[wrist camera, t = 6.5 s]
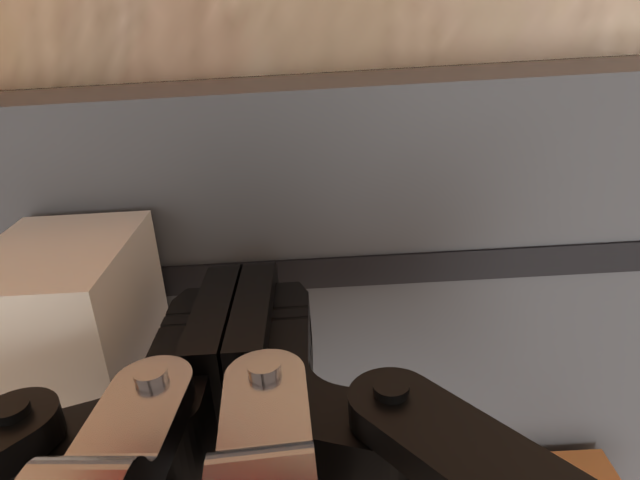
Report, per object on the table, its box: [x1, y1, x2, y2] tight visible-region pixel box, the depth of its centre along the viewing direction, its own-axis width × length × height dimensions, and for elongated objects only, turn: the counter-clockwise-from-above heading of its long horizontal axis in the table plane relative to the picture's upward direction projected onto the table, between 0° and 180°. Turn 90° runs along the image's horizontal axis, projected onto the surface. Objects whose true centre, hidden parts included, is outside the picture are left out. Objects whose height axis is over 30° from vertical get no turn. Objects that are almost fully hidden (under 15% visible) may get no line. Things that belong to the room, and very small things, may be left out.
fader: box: [0, 210, 168, 408], centre depth 12 cm, size 4×3×4 cm
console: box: [0, 55, 640, 480], centre depth 17 cm, size 17×20×3 cm
